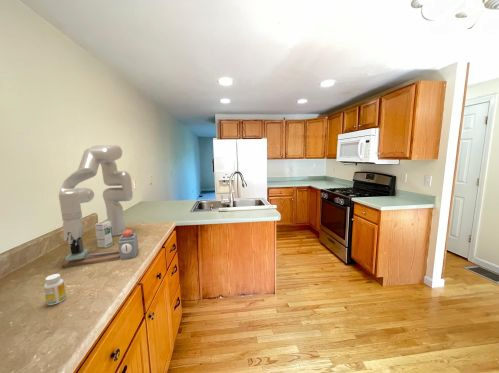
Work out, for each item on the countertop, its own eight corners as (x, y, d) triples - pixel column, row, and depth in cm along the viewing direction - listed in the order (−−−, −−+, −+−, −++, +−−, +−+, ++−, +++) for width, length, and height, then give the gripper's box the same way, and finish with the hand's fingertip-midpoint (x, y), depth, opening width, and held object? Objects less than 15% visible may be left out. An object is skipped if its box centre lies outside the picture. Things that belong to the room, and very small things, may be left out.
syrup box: (106, 247, 124) (103, 223, 122) (97, 247, 126) (94, 223, 123) (114, 243, 130) (111, 220, 128) (105, 243, 131) (102, 220, 129)
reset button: (124, 234, 116) (123, 230, 115) (133, 233, 117) (132, 229, 117) (122, 237, 112) (121, 233, 111) (131, 236, 113) (131, 231, 113)
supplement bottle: (48, 307, 76) (43, 282, 74) (45, 301, 79) (41, 277, 78) (67, 299, 80) (63, 275, 78) (64, 294, 83) (60, 271, 82)
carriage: (73, 253, 111) (70, 237, 110) (89, 251, 113) (87, 235, 112) (65, 260, 103) (63, 243, 102) (83, 258, 106) (80, 241, 104)
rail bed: (71, 258, 112) (70, 253, 111) (123, 251, 119) (123, 246, 119) (61, 268, 102) (61, 263, 102) (119, 259, 110) (118, 254, 110)
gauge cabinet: (124, 251, 119) (122, 233, 118) (138, 249, 122) (136, 232, 120) (119, 260, 109) (117, 241, 108) (135, 257, 112) (133, 239, 110)
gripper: (70, 212, 112) (75, 246, 114) (53, 221, 96) (59, 260, 99) (87, 211, 114) (92, 243, 117) (73, 219, 99) (79, 257, 101)
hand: (77, 250), depth 108 cm, fingers closed on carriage, 3 cm apart
